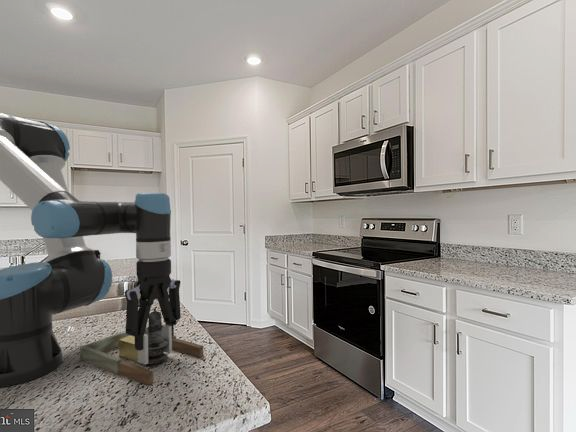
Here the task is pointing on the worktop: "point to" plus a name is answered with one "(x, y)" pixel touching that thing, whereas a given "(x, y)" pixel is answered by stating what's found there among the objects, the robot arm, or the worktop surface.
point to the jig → (113, 364)
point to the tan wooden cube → (133, 351)
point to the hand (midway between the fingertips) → (155, 356)
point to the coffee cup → (97, 254)
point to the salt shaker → (156, 339)
